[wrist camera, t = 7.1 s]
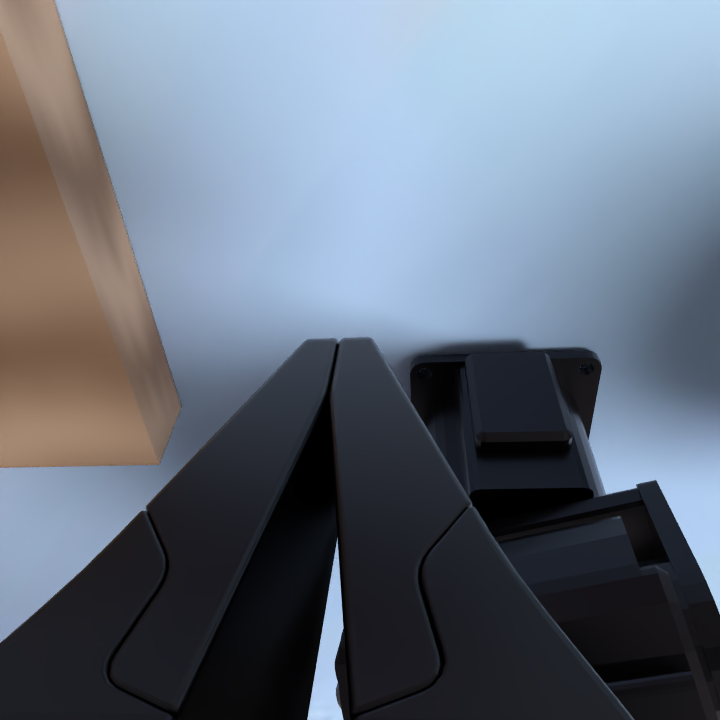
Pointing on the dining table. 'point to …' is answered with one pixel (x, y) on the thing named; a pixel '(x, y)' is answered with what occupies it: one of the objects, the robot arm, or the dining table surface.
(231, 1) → the dining table surface
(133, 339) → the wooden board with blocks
